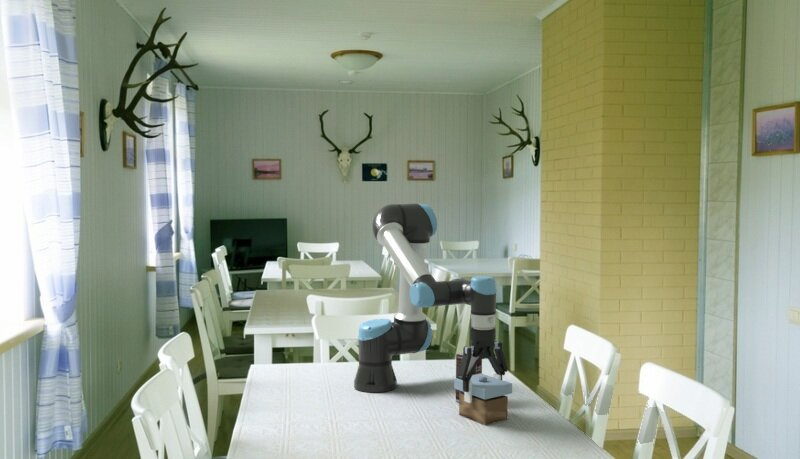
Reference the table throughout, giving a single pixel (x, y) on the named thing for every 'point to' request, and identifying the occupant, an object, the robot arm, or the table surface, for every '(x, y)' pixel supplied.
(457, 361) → the supplement box
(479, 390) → the lid
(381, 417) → the table surface
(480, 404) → the box
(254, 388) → the table surface
